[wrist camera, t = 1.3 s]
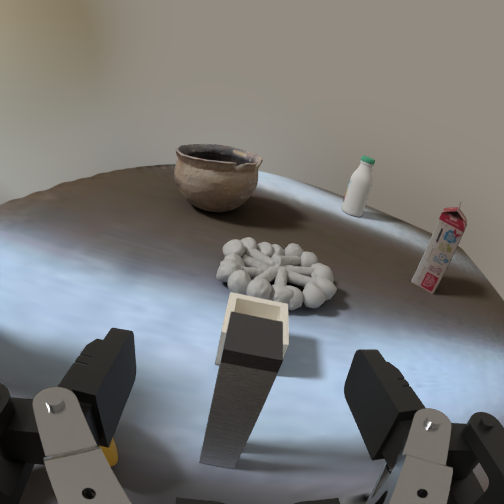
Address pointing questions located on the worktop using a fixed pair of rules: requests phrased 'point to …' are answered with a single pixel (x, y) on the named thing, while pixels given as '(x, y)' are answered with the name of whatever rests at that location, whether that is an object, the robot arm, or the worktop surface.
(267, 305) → the open box
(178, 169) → the ceramic bowl
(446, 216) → the juice carton
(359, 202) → the milk bottle
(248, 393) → the grey long square block
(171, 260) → the worktop surface
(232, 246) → the campfire
